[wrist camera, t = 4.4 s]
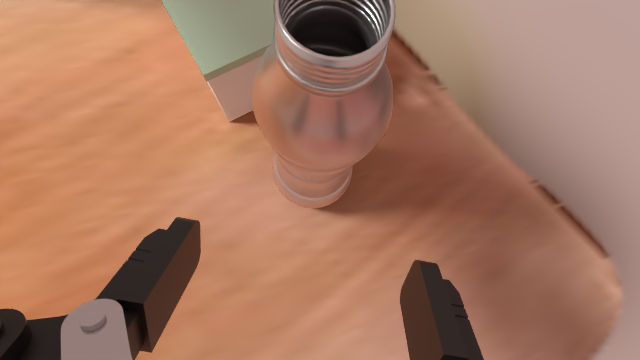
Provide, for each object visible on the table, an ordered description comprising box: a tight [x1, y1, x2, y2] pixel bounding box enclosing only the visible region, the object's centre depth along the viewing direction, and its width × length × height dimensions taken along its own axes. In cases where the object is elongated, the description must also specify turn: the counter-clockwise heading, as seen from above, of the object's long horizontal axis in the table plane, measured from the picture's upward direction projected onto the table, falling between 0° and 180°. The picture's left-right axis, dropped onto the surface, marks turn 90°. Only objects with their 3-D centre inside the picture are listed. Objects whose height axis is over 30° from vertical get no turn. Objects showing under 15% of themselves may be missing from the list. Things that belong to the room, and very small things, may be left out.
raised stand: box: [161, 0, 275, 122], centre depth 28 cm, size 12×13×8 cm
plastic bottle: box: [251, 0, 395, 208], centre depth 19 cm, size 6×7×20 cm
